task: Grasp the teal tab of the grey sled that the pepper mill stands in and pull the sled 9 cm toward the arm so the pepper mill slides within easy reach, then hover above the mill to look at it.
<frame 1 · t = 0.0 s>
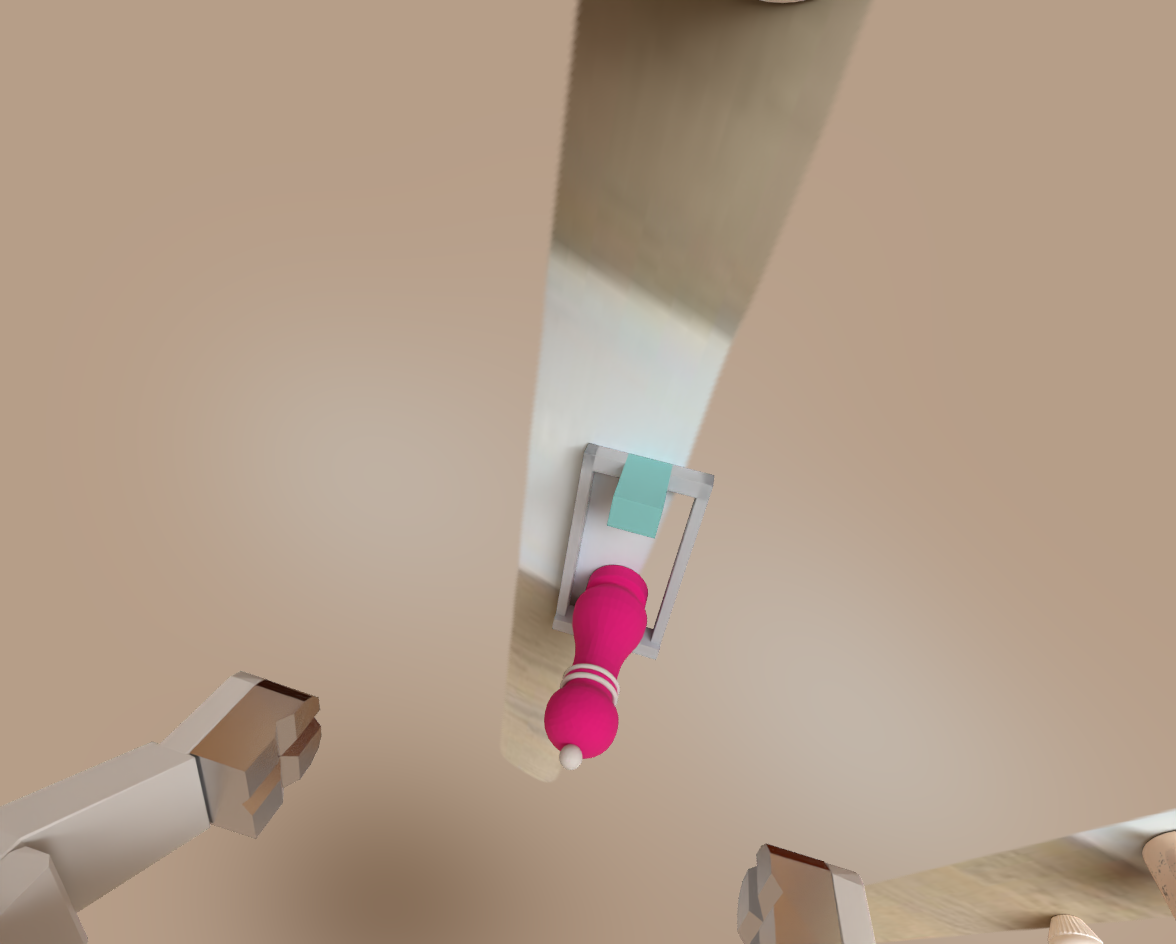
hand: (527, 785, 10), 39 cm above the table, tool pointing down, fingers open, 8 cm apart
pepper mill: (618, 586, 60), resting in sled
sled: (620, 575, 54), point 4 cm above the table, slide at 0.0 cm
muffin: (1065, 919, 71), on the table
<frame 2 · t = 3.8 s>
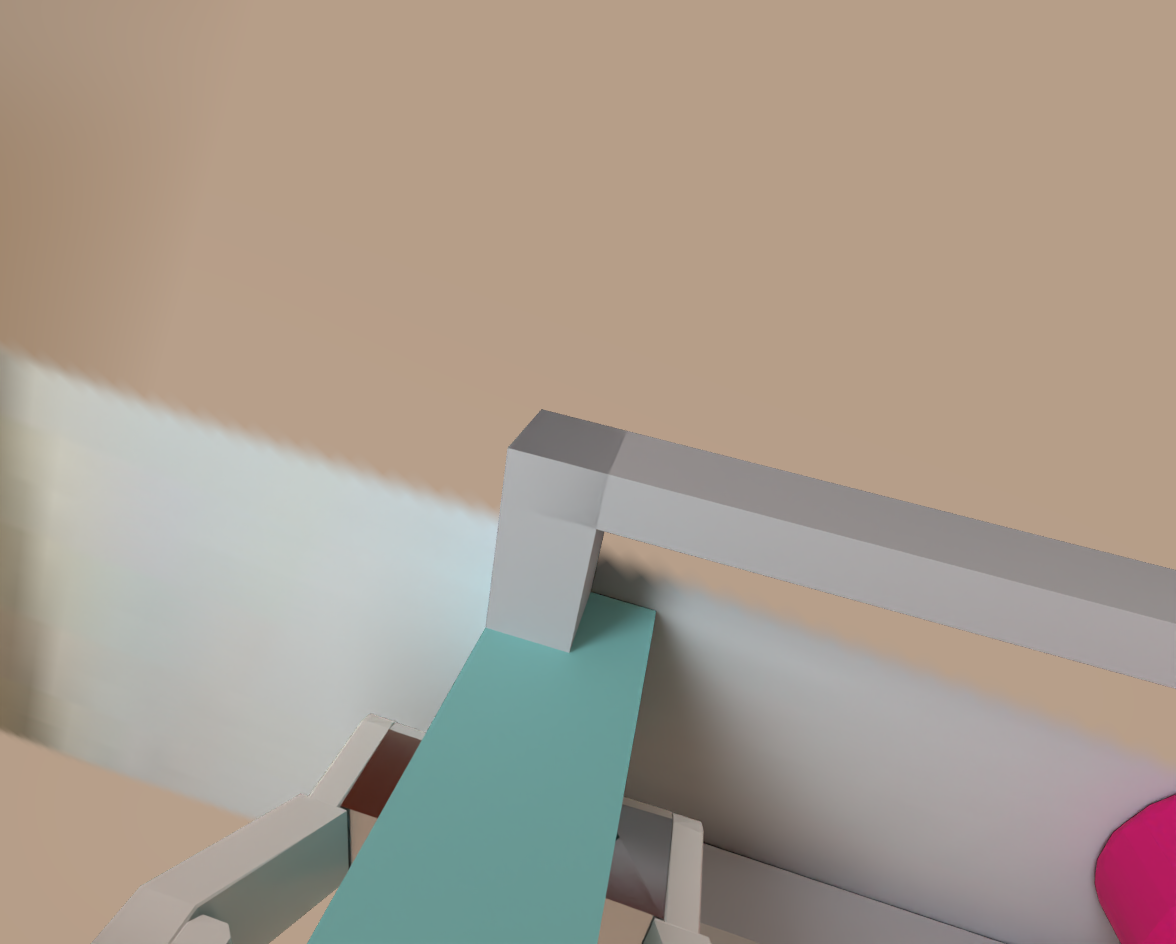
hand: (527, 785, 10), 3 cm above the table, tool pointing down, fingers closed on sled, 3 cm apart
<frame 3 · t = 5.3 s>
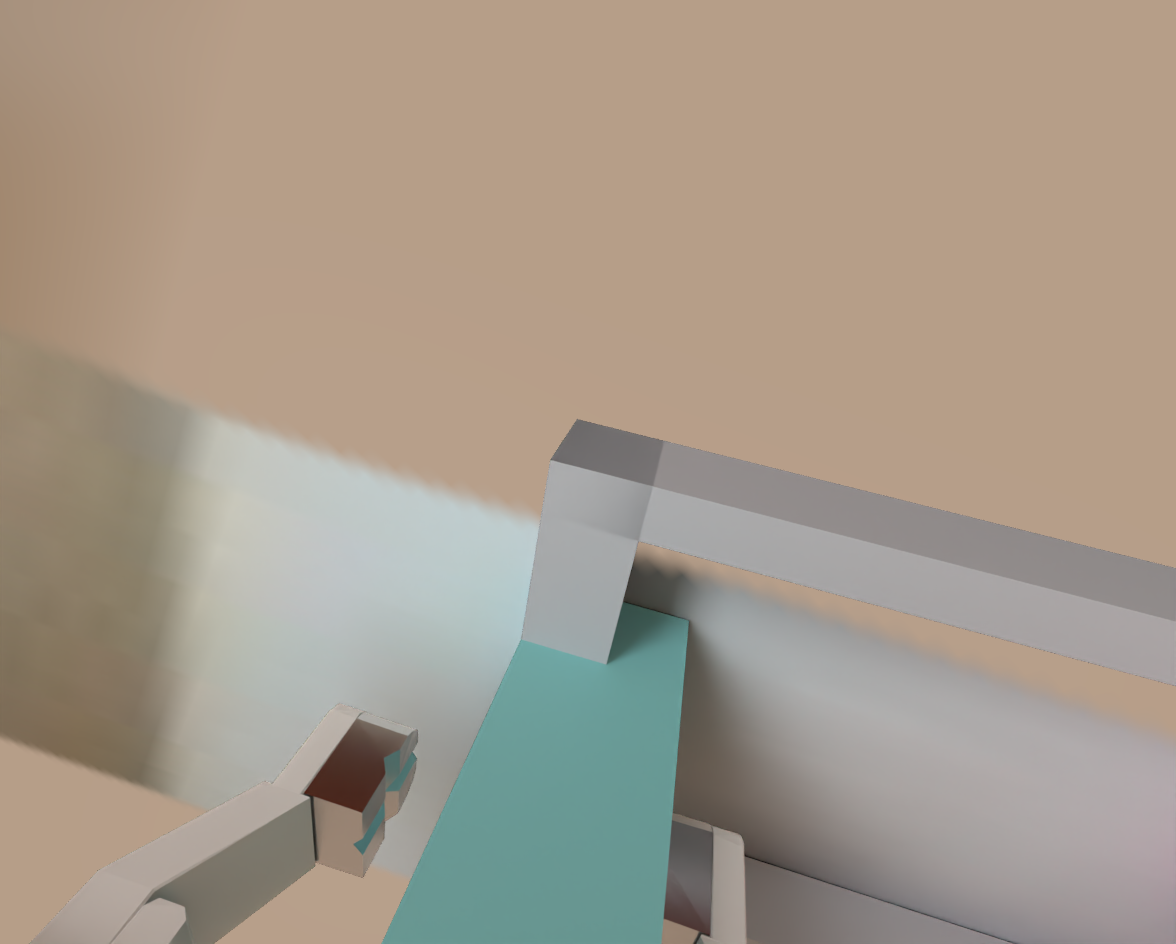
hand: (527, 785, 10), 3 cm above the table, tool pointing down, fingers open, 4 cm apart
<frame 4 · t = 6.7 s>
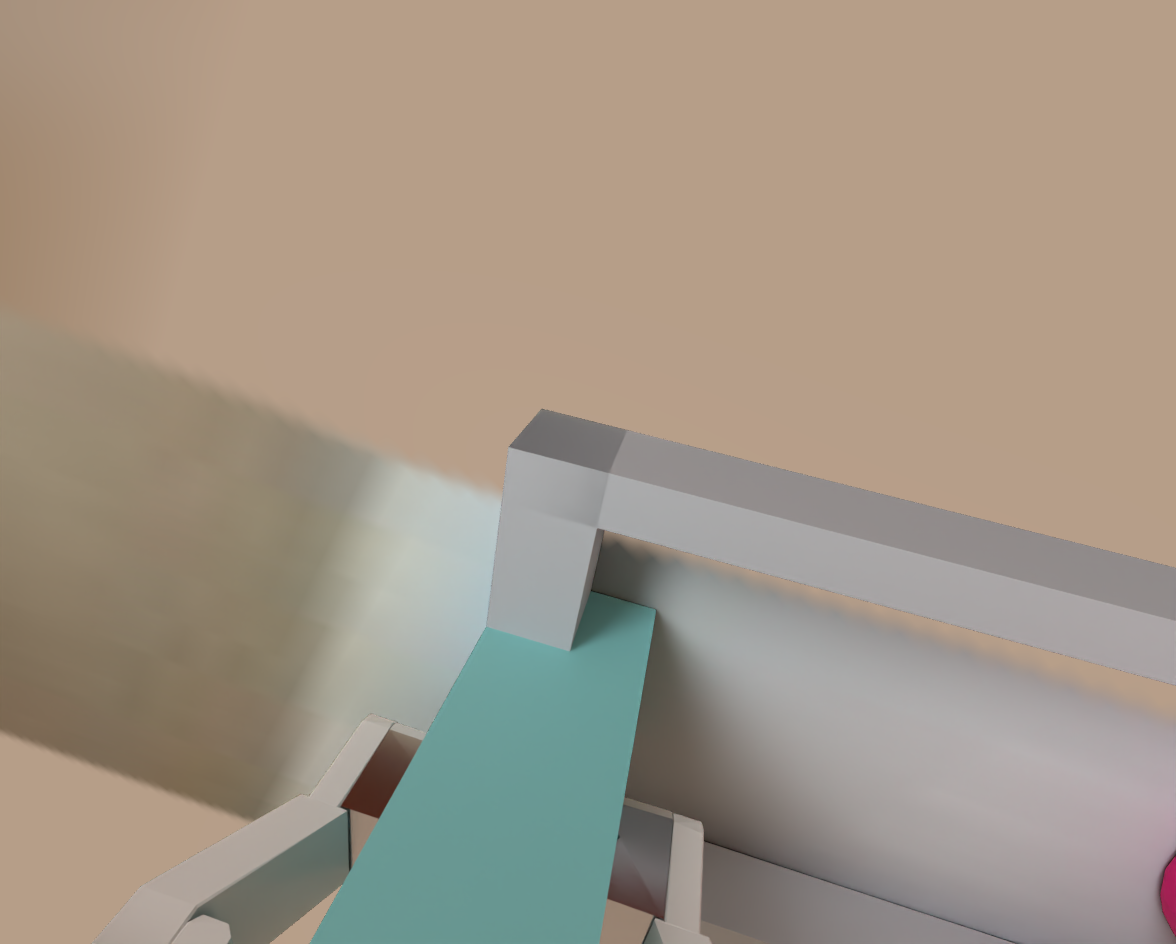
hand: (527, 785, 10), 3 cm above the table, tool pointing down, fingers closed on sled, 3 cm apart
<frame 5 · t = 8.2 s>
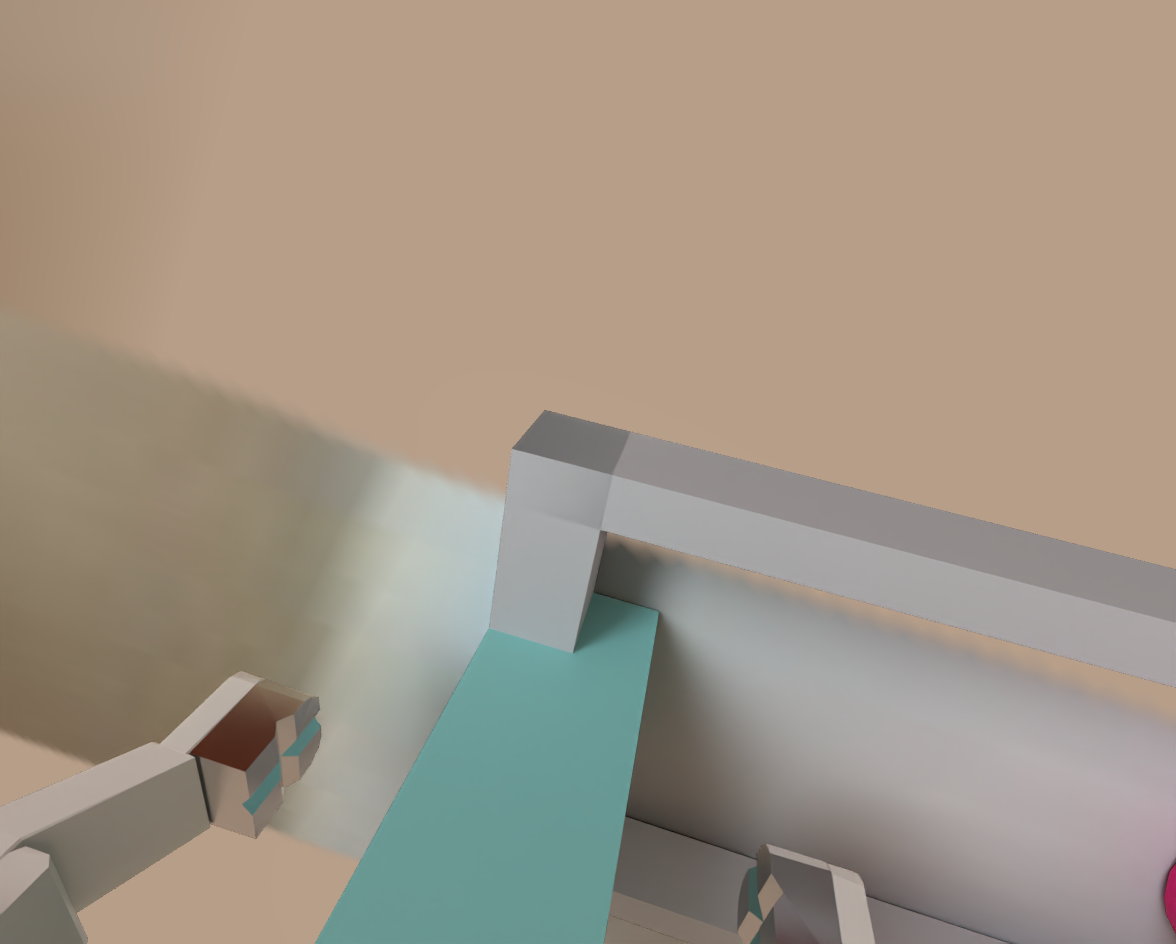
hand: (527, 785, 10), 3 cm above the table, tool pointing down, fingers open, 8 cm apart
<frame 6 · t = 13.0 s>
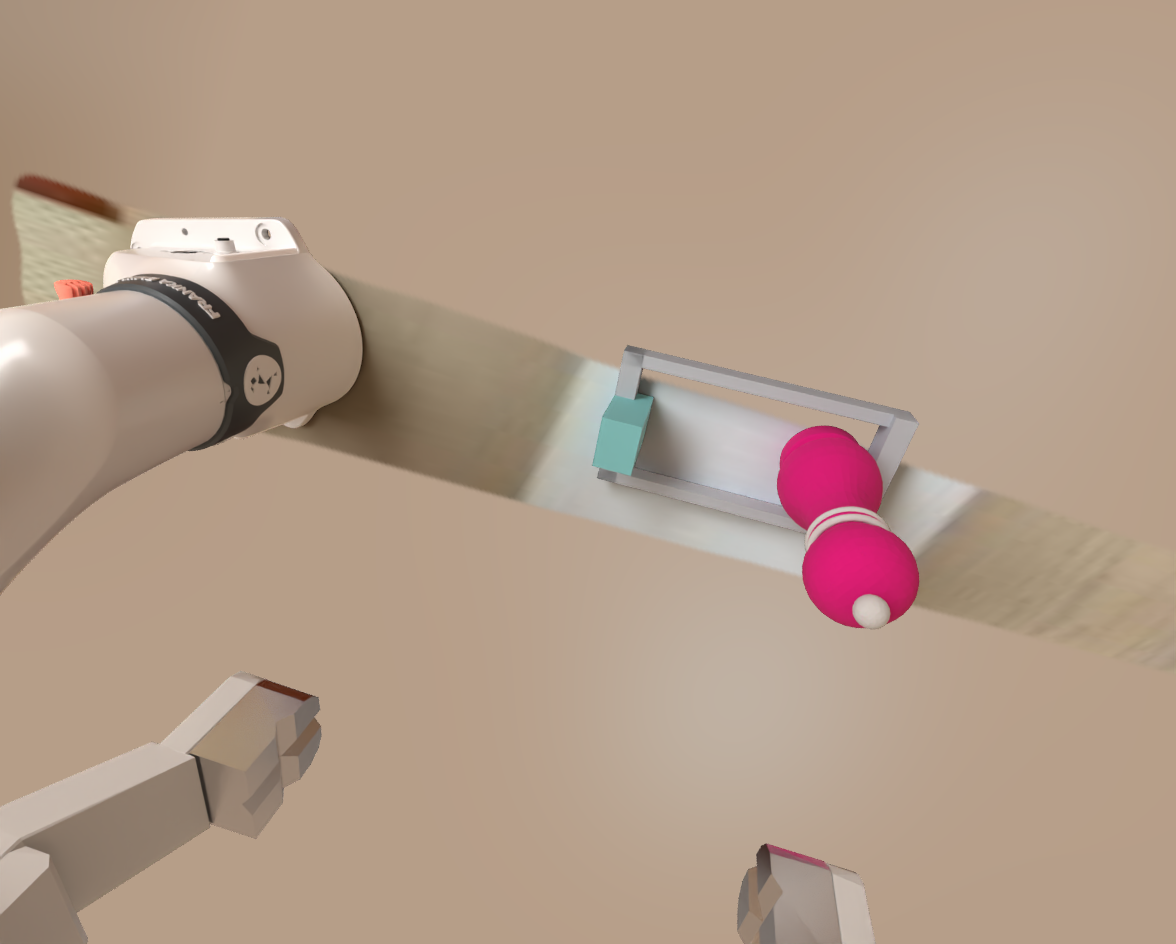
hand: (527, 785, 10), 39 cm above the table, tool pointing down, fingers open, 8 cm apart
pepper mill: (819, 460, 47), resting in sled
sled: (743, 460, 44), point 3 cm above the table, slide at 8.9 cm
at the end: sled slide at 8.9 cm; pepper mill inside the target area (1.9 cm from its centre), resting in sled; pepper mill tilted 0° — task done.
